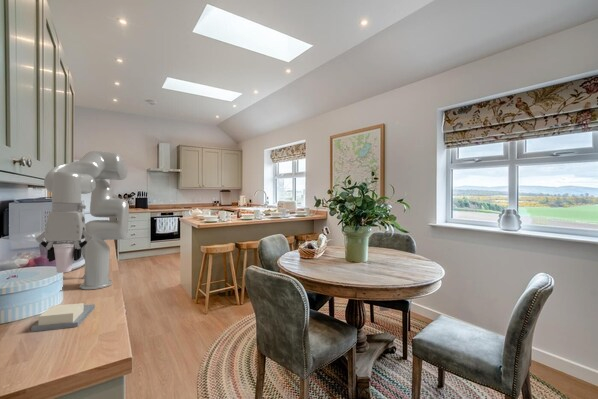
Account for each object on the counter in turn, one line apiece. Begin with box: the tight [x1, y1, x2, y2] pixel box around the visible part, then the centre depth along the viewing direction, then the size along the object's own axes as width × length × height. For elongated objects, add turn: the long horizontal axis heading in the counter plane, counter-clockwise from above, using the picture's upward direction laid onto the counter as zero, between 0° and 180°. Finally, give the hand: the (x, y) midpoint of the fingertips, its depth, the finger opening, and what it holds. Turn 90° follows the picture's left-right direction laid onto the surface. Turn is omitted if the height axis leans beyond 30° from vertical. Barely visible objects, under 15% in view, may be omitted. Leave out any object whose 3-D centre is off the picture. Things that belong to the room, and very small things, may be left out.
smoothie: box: [53, 241, 76, 274], centre depth 93 cm, size 6×6×14 cm
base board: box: [30, 302, 96, 333], centre depth 95 cm, size 16×12×4 cm
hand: (64, 259), depth 93 cm, fingers closed on smoothie, 6 cm apart
